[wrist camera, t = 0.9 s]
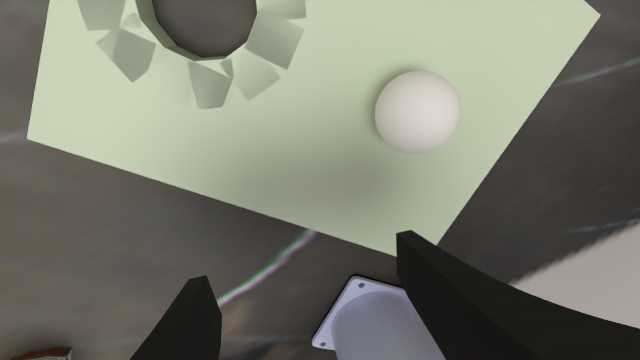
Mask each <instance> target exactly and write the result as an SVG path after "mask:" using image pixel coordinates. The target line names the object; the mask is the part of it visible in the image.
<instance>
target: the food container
mask: <svg viewBox="0 0 640 360" xmlns="http://www.w3.org/2000/svg"><path fill="white" fill-rule="evenodd" d="M71 357H72V348H48V349H42V350H35V351H30V352H27V353H25V354H22V355H19V356H17V357H14V358H12V359H10V360H71Z"/></svg>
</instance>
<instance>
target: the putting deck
mask: <svg viewBox="0 0 640 360" xmlns="http://www.w3.org/2000/svg"><path fill="white" fill-rule="evenodd" d="M256 7H257V16H256V19H255V21H254V24H253V27H252V29H251V32H250V35H249V37H248V40H247V42H246V43H245V44H243V45H242V46H241V47H239V48H238V49H237V50H235V51H234V52H233V53H231V54H230V55H229V56H220V57H207V58H202V57H200V56H198V55H196V54H194V53H192V52H189V51H187V50H185V49H183V48H181V47H179V46H177V45H176V44H175V43H174V41H173V40H172V39H171V38H170V37H169V35H168V34H167V33H166V32H165V31H164V29H163V28H162V27H161V26H160V24H159V23H158V22H157V20H156V16H155V12H154V8H153V4H152V0H50V4H49V10H48V16H47V21H46V27H45V33H44V39H43V45H42V51H41V57H40V63H39V69H38V75H37V81H36V87H35V93H34V99H33V105H32V111H31V117H30V123H29V129H28V135H27V139H29V140H32V141H35V142H39V143H42V144H45V145H48V146H51V147H54V148H57V149H61V150H64V151H67V152H70V153H73V154H76V155H79V156H83V157H86V158H89V159H92V160H95V161H98V162H101V163H105V164H108V165H111V166H114V167H117V168H120V169H123V170H127V171H130V172H133V173H136V174H139V175H142V176H145V177H148V178H152V179H155V180H158V181H161V182H164V183H167V184H170V185H174V186H177V187H180V188H183V189H186V190H189V191H192V192H196V193H199V194H202V195H205V196H208V197H211V198H214V199H218V200H221V201H224V202H227V203H230V204H233V205H236V206H240V207H243V208H246V209H249V210H252V211H255V212H258V213H262V214H265V215H268V216H271V217H274V218H277V219H280V220H283V221H287V222H290V223H293V224H296V225H299V226H302V227H305V228H309V229H312V230H315V231H318V232H321V233H324V234H327V235H331V236H334V237H337V238H340V239H343V240H346V241H349V242H353V243H356V244H359V245H362V246H365V247H368V248H371V249H375V250H378V251H381V252H384V253H387V254H390V255H393V256H397V251H396V233H399V232H403V231H408V230H412V231H414V232H416V233H417V234H419V235H420V236H422V237H423V238H425V239H427V240H428V241H430V242H431V243H433V244H434V245H437V243H438V242H439V241H440V239H441V238H442V236H443V235H444V234H445V232H446V231H447V229H448V228H449V227H450V225H451V224H452V222H453V221H454V220H455V218H456V217H457V215H458V214H459V213H460V211H461V210H462V208H463V207H464V206H465V204H466V203H467V202H468V200H469V199H470V197H471V196H472V195H473V193H474V192H475V190H476V189H477V188H478V186H479V185H480V183H481V182H482V181H483V179H484V178H485V176H486V175H487V174H488V172H489V171H490V169H491V168H492V167H493V165H494V164H495V162H496V161H497V160H498V158H499V157H500V155H501V154H502V153H503V151H504V150H505V148H506V147H507V146H508V144H509V143H510V141H511V140H512V139H513V137H514V136H515V134H516V133H517V132H518V130H519V129H520V127H521V126H522V125H523V123H524V122H525V120H526V119H527V118H528V116H529V115H530V113H531V112H532V111H533V109H534V108H535V106H536V105H537V104H538V102H539V101H540V99H541V98H542V97H543V95H544V94H545V92H546V91H547V90H548V88H549V87H550V85H551V84H552V83H553V81H554V80H555V78H556V77H557V76H558V74H559V73H560V71H561V70H562V69H563V67H564V66H565V65H566V63H567V62H568V60H569V59H570V58H571V56H572V55H573V53H574V52H575V51H576V49H577V48H578V46H579V45H580V44H581V42H582V41H583V39H584V38H585V37H586V35H587V34H588V32H589V31H590V30H591V28H592V27H593V25H594V24H595V23H596V21H597V20H598V18H599V17H600V16H601V15H600V14H598V13H597V12H596V11H595V10H594V9H593V8H592V7H591V6H590V5H588V4H587V3H586V2H585V1H584V0H256ZM416 70H423V71H430V72H433V73H436V74H438V75H440V76H442V77H443V78H445V79H446V80H448V81H449V82H450V83H451V85H452V86H453V87H454V89H455V90H456V92H457V95H458V98H459V101H460V118H459V122H458V125H457V127H456V129H455V131H454V133H453V134H452V136H451V137H450V138H449V139H448V140H447V141H446V142H445V143H444V144H443V145H441V146H440V147H438V148H436V149H435V150H432V151H430V152H426V153H422V154H408V153H404V152H401V151H398V150H396V149H394V148H392V147H391V146H390V145H388V144H387V143H386V142H385V141H384V140H383V138H382V137H381V135H380V134H379V132H378V129H377V126H376V122H375V107H376V103H377V100H378V98H379V95H380V94H381V92H382V90H383V89H384V88H385V86H386V85H387V84H388V83H389V82H391V81H392V80H393V79H395V78H396V77H398V76H399V75H402V74H404V73H407V72H411V71H416Z"/></svg>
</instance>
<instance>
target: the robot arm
mask: <svg viewBox="0 0 640 360" xmlns="http://www.w3.org/2000/svg"><path fill="white" fill-rule="evenodd" d="M396 251H397V274H398V277H399V279H400V281H401V283H402V286H403V288H404V289H402V288H399V287H395V286H392V285H388V284H384V283H381V282H377V281H373V280H370V279H366V278H363V277H359V276H354V277H352V278H351V279H350V280H349V282H348V283H347V285H346V287H345V288H344V290H343V291H342V293H341V295H340V296H339V298H338V299H337V301H336V302H335V304H334V306H333V307H332V309H331V310H330V312H329V313H328V315H327V317H326V318H325V320H324V321H323V323H322V325H321V326H320V328H319V329H318V331H317V332H316V334H315V336H314V337H313V339H312V345H313V346H314V347H319V348H324V349H330V350H335V351H336V355H337V359H338V360H640V329H639V328H635V327H631V326H627V325H623V324H620V323H615V322H612V321H608V320H604V319H601V318H598V317H594V316H591V315H588V314H585V313H581V312H578V311H575V310H572V309H569V308H566V307H563V306H560V305H557V304H554V303H552V302H549V301H546V300H544V299H541V298H539V297H536V296H533V295H531V294H528V293H526V292H523V291H521V290H519V289H516V288H514V287H512V286H510V285H508V284H505V283H503V282H501V281H499V280H497V279H495V278H492V277H490V276H488V275H486V274H484V273H483V272H481V271H479V270H477V269H475V268H473V267H471V266H469V265H468V264H466V263H464V262H462V261H461V260H459V259H457V258H456V257H454V256H452V255H450V254H449V253H447V252H446V251H444V250H442V249H441V248H439V247H438V246H436V245H434V244H433V243H431V242H430V241H428V240H427V239H425V238H423V237H422V236H420V235H419V234H417V233H416V232H414V231H412V230H408V231H403V232H399V233H396ZM360 283H362V284H360ZM221 326H222V314H221V312H220V309H219V307H218V304H217V301H216V299H215V296H214V294H213V291H212V289H211V286H210V283H209V281H208V278H207V276H206V275H205V276H201V277H197V278H192V279H189V280H188V282H187V283H186V284H185V286H184V287H183V288H182V290H181V291H180V293H179V294H178V296H177V297H176V298H175V300H174V301H173V303H172V304H171V306H170V307H169V308H168V310H167V311H166V313H165V314H164V315H163V317H162V318H161V320H160V321H159V322H158V324H157V325H156V326H155V328H154V329H153V331H152V332H151V333H150V335H149V336H148V337H147V338H146V340H145V341H144V342H143V343H142V345H141V346H140V347H139V349H138V350H137V351H136V352H135V354H134V355H133V356H132V357H131V359H130V360H218V359H219V352H220V345H221Z"/></svg>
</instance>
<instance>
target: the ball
mask: <svg viewBox="0 0 640 360" xmlns="http://www.w3.org/2000/svg"><path fill="white" fill-rule="evenodd" d="M459 118H460V101H459V98H458V95H457V92H456V90H455V89H454V87H453V86H452V85H451V83H450V82H449V81H448V80H446V79H445V78H443V77H442V76H440V75H438V74H436V73H433V72H430V71H423V70H416V71H411V72H407V73H404V74H402V75H399V76H398V77H396V78H395V79H393V80H392V81H391V82H389V83H388V84H387V85H386V86H385V88H384V89H383V90H382V92H381V94H380V95H379V98H378V100H377V103H376V107H375V122H376V126H377V129H378V132H379V134H380V135H381V137H382V138H383V140H384V141H385V142H386V143H387V144H388V145H390V146H391V147H392V148H394V149H396V150H398V151H401V152H404V153H408V154H422V153H426V152H430V151H432V150H435V149H436V148H438V147H440V146H441V145H443V144H444V143H445V142H446V141H447V140H448V139H449V138H450V137H451V136H452V134H453V133H454V131H455V129H456V127H457V125H458V122H459Z"/></svg>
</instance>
